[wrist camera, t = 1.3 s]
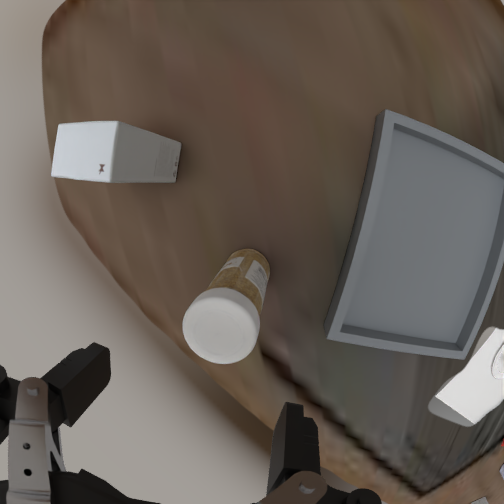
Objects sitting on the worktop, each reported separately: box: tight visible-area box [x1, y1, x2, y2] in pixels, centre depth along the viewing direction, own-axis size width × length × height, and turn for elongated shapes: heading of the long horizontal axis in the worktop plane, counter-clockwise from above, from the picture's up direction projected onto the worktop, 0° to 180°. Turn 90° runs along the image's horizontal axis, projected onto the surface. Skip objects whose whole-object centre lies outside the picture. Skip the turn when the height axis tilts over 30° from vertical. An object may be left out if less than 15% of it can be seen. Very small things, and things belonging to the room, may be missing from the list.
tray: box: [324, 109, 504, 359], centre depth 25 cm, size 22×18×3 cm
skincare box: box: [51, 121, 181, 183], centre depth 23 cm, size 6×4×12 cm
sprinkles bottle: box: [183, 249, 270, 364], centre depth 23 cm, size 5×5×14 cm
